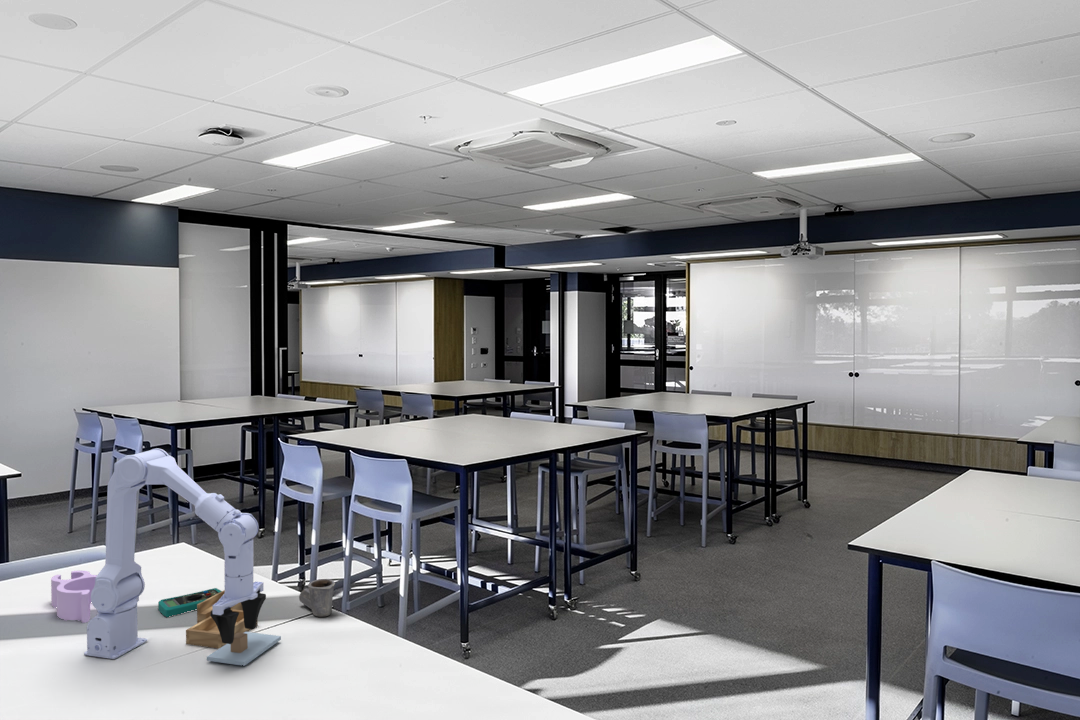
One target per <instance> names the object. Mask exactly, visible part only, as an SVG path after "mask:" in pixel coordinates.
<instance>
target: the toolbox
mask: <svg viewBox="0 0 1080 720" xmlns="http://www.w3.org/2000/svg"><path fill="white" fill-rule="evenodd" d="M221 591H222V592H220V593H218V594H216V595H214V596H212V597H210V598H208V599H206V600H205V601H203V602H201V603H199V604H197V610H196V622H197V623H196V624H194V625H193V626H191V627H189V628H187V629H185V644H186V645H188V646H196V647H204V648H212V649H217V650H218V649H219V648H221V647H223V646H224V645H226V643H222V639H221V636H220V632H219V629H218V627H217V625H216V623H215V621H214V620H213V619H212V617H211V616H210V614H211V611H212V610H213V605H214V604H215V603H217V602H218V600H219V599H220V598H221V597H222V596H223V595H224V593H225V589H223V590H221ZM231 610H232V612H239V615H238V617H237V620H236V624H235V631H234V635H235V634H236V633H244V632H250V631H251V630H252V629H246V628H245V625H244V615H243V608H242V605H241V602H240V603H238V604H236V605H234V606H233V607H231ZM258 619H259V618H258ZM258 619H257V623H256V627H257V626H258V623H259V622H258Z"/></svg>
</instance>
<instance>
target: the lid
mask: <svg viewBox="0 0 1080 720" xmlns="http://www.w3.org/2000/svg"><path fill="white" fill-rule="evenodd" d="M281 638H282V636H281V635H276V634H269V633H267V634H266V633H259V632H250V631H248V632H244V633H236V634H235V635H234V640H233V643H232V644H226V645H224V646H223V647H221V648H219V649H218V648H217V649H216V650H215V651H213V652H212V653H210V654H209V655H207V656H206V661H207V662H215V663H222V664H228V665H229V664H230V665H234V666H242V665H243V666H247V665H248V664H249V663H251V662H252V661H253V660H255V659H256V658H257V657H259V656H260V655H262V654H263V653H264V652H265V651H267V650H269V649H270V648H271V647H273V646H274V645H275V644H277V643H278V642H279V641H281V640H282V639H281Z"/></svg>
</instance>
